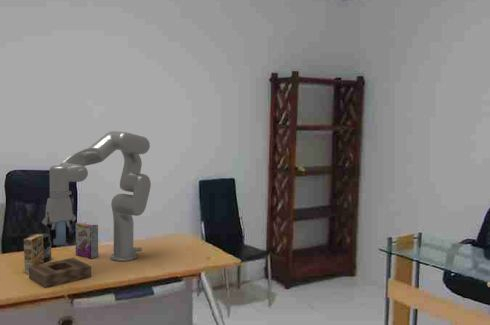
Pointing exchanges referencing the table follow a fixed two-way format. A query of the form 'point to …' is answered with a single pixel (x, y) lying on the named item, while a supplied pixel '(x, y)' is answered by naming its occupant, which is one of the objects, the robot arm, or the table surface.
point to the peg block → (59, 272)
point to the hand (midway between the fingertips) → (59, 236)
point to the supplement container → (46, 246)
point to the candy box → (33, 251)
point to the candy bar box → (86, 239)
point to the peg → (60, 233)
